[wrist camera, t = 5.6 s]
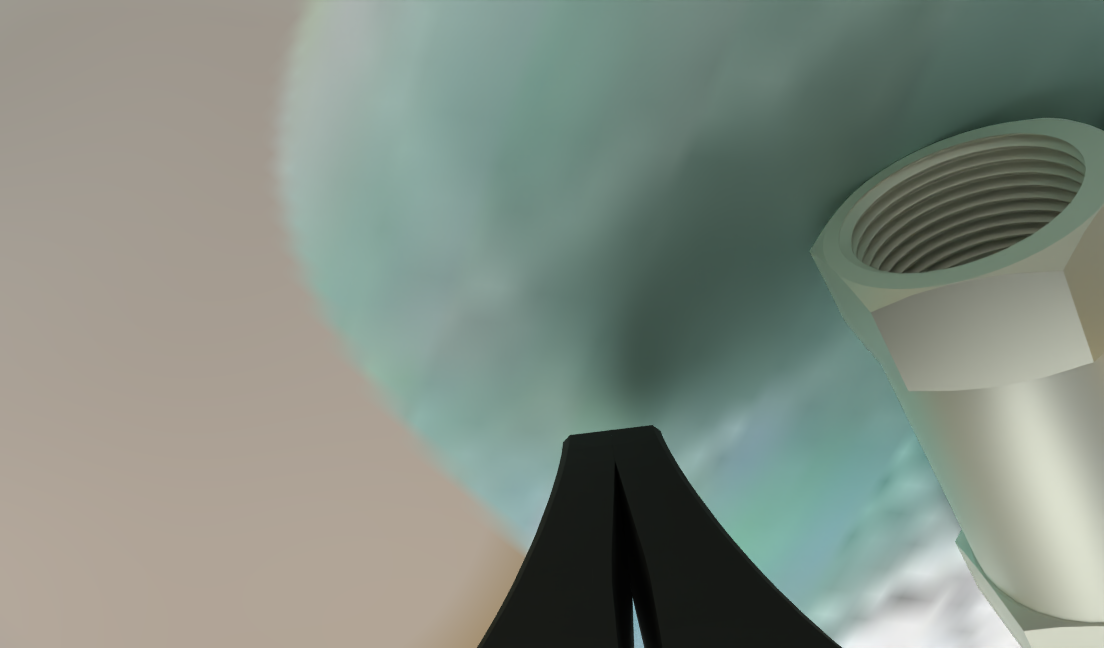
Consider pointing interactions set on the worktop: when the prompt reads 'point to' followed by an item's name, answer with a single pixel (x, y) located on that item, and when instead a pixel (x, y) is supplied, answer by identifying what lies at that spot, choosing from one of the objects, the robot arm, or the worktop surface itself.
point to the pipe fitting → (996, 351)
